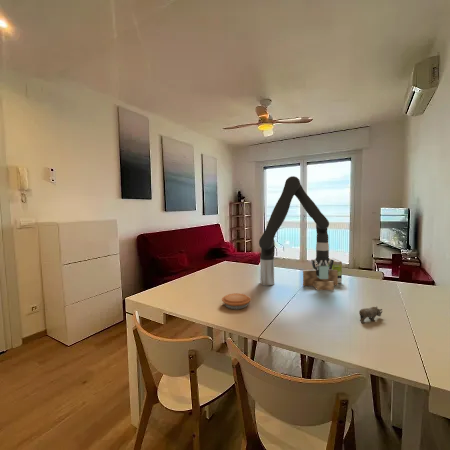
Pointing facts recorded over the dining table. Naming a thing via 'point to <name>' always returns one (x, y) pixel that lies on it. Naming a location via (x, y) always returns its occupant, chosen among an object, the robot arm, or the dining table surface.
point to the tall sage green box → (323, 271)
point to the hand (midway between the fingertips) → (322, 275)
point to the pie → (236, 301)
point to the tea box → (337, 268)
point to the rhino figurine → (369, 313)
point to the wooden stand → (320, 280)
